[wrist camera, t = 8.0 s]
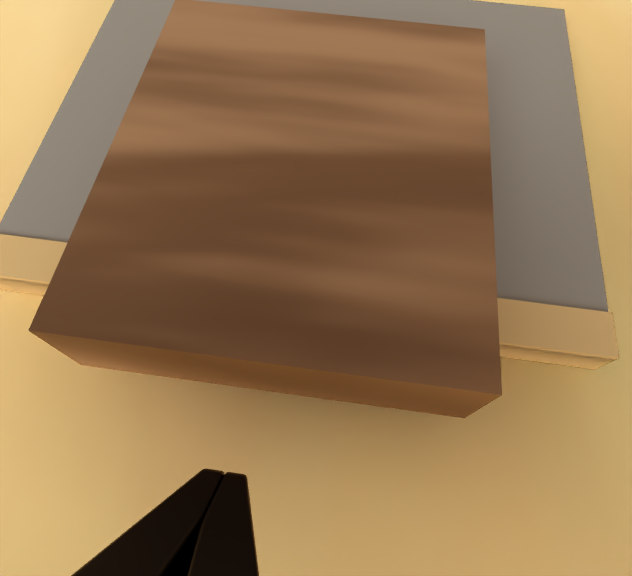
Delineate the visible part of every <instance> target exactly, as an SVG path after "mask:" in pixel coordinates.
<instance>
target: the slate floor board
mask: <svg viewBox="0 0 632 576" xmlns="http://www.w3.org/2000/svg"><path fill="white" fill-rule="evenodd" d="M196 1H206V2H216V3H226V4H236V5H246V6H256V7H266V8H276V9H286V10H296V11H307V12H317V13H327V14H337V15H347V16H357V17H367V18H377V19H387V20H397V21H407V22H417V23H427V24H437V25H447V26H457V27H467V28H478V29H485V43H486V65H487V87H488V108H489V130H490V151H491V173H492V194H493V216H494V238H495V259H496V281H497V302H498V324H499V346H500V357H506V358H514V359H521V360H528V361H536V362H543V363H551V364H558V365H566V366H573V367H581V368H588V369H597V368H599V367H601V366H603V365H605V364H607V363H610V362H612V361H614V360H616V359H618V358H619V354H618V347H617V340H616V334H615V327H614V320H613V314H612V312H608V306H607V299H606V292H605V285H604V278H603V272H602V265H601V258H600V251H599V244H598V237H597V231H596V224H595V217H594V210H593V203H592V197H591V190H590V183H589V176H588V169H587V162H586V156H585V149H584V142H583V135H582V128H581V121H580V115H579V108H578V101H577V94H576V87H575V81H574V74H573V67H572V60H571V53H570V46H569V40H568V33H567V26H566V19H565V12H564V9H555V8H545V7H535V6H525V5H514V4H504V3H494V2H484V1H474V0H196ZM174 2H175V0H115V1H114V3H113V5H112V7H111V9H110V10H109V12H108V14H107V16H106V18H105V20H104V22H103V24H102V26H101V28H100V30H99V32H98V34H97V36H96V38H95V40H94V42H93V44H92V46H91V48H90V49H89V51H88V53H87V55H86V57H85V59H84V61H83V63H82V65H81V67H80V69H79V71H78V73H77V75H76V77H75V79H74V81H73V83H72V85H71V86H70V88H69V90H68V92H67V94H66V96H65V98H64V100H63V102H62V104H61V106H60V108H59V110H58V112H57V114H56V116H55V118H54V120H53V122H52V123H51V125H50V127H49V129H48V131H47V133H46V135H45V137H44V139H43V141H42V143H41V145H40V147H39V149H38V151H37V153H36V155H35V157H34V159H33V161H32V162H31V164H30V166H29V168H28V170H27V172H26V174H25V176H24V178H23V180H22V182H21V184H20V186H19V188H18V190H17V192H16V194H15V196H14V198H13V199H12V201H11V203H10V205H9V207H8V209H7V211H6V213H5V215H4V217H3V219H2V221H1V223H0V290H8V291H15V292H22V293H30V294H37V295H45V292H46V290H47V288H48V286H49V283H50V281H51V279H52V277H53V274H54V272H55V270H56V268H57V265H58V263H59V261H60V258H61V256H62V254H63V252H64V249H65V247H66V245H67V243H68V240H69V238H70V236H71V234H72V231H73V229H74V227H75V225H76V222H77V220H78V218H79V216H80V213H81V211H82V209H83V207H84V204H85V202H86V200H87V198H88V195H89V193H90V191H91V189H92V186H93V184H94V182H95V180H96V177H97V175H98V173H99V171H100V168H101V166H102V164H103V162H104V159H105V157H106V155H107V153H108V150H109V148H110V146H111V144H112V141H113V139H114V137H115V135H116V132H117V130H118V128H119V126H120V123H121V121H122V119H123V117H124V114H125V112H126V110H127V107H128V105H129V103H130V101H131V98H132V96H133V94H134V92H135V89H136V87H137V85H138V83H139V80H140V78H141V76H142V74H143V71H144V69H145V67H146V65H147V62H148V60H149V58H150V56H151V53H152V51H153V49H154V47H155V44H156V42H157V40H158V38H159V35H160V33H161V31H162V29H163V26H164V24H165V22H166V20H167V17H168V15H169V13H170V11H171V8H172V6H173V4H174Z"/></svg>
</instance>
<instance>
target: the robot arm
mask: <svg viewBox="0 0 632 576" xmlns="http://www.w3.org/2000/svg"><path fill="white" fill-rule="evenodd" d="M71 576H259V571H258V563H257V554H256V546H255V538H254V530H253V522H252V514H251V506H250V498H249V489H248V481H247V477H246V475H244V474H239V473H232V472H227V473H226V474H224V472H223V471H219V470H212V469H203V470H201V471H200V472H199V473H198V474H196V475H195V476H194V477H193V478H191V479H190V480H189V481H188V482H186V483H185V484H184V485H183V486H181V487H180V488H179V489H178V490H176V491H175V492H174V493H173V494H172V495H170V496H169V497H168V498H167V499H165V500H164V501H163V502H162V503H160V504H159V505H158V506H157V507H155V508H154V509H153V510H152V511H151V512H149V513H148V514H147V515H146V516H144V517H143V518H142V519H141V520H139V521H138V522H137V523H136V524H134V525H133V526H132V527H131V528H130V529H128V530H127V531H126V532H125V533H123V534H122V535H121V536H120V537H118V538H117V539H116V540H115V541H113V542H112V543H111V544H110V545H109V546H107V547H106V548H105V549H104V550H102V551H101V552H100V553H99V554H97V555H96V556H95V557H94V558H92V559H91V560H90V561H89V562H88V563H86V564H85V565H84V566H83V567H81V568H80V569H79V570H78V571H76V572H75V573H74V574H73V575H71Z"/></svg>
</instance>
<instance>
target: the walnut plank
mask: <svg viewBox="0 0 632 576" xmlns="http://www.w3.org/2000/svg"><path fill="white" fill-rule="evenodd" d="M29 331H30V332H31V333H33V334H35V335H36V336H38V337H39V338H41V339H42V340H44V341H45V342H47V343H48V344H50V345H51V346H53V347H54V348H56V349H57V350H59V351H60V352H62V353H64V354H65V355H67V356H68V357H70V358H71V359H73V360H74V361H76V362H77V363H79V364H80V365H86V366H93V367H100V368H107V369H114V370H122V371H129V372H136V373H143V374H150V375H158V376H165V377H172V378H179V379H186V380H194V381H201V382H208V383H215V384H222V385H230V386H237V387H244V388H251V389H258V390H266V391H273V392H280V393H287V394H294V395H302V396H309V397H316V398H323V399H330V400H338V401H345V402H352V403H359V404H367V405H374V406H381V407H388V408H395V409H403V410H410V411H417V412H424V413H431V414H439V415H446V416H453V417H460V418H465V417H467V416H468V415H470V414H472V413H473V412H475V411H476V410H478V409H480V408H481V407H483V406H485V405H486V404H488V403H489V402H491V401H493V400H494V399H496V398H498V397H499V396H501V395H502V389H501V367H500V346H499V324H498V302H497V281H496V259H495V238H494V216H493V194H492V173H491V151H490V130H489V108H488V87H487V65H486V43H485V29H478V28H467V27H457V26H447V25H437V24H427V23H417V22H407V21H397V20H387V19H377V18H367V17H357V16H347V15H337V14H327V13H317V12H307V11H296V10H286V9H276V8H266V7H256V6H246V5H236V4H226V3H216V2H206V1H196V0H175V2H174V4H173V6H172V8H171V11H170V13H169V15H168V17H167V20H166V22H165V24H164V26H163V29H162V31H161V33H160V35H159V38H158V40H157V42H156V44H155V47H154V49H153V51H152V53H151V56H150V58H149V60H148V62H147V65H146V67H145V69H144V71H143V74H142V76H141V78H140V80H139V83H138V85H137V87H136V89H135V92H134V94H133V96H132V98H131V101H130V103H129V105H128V107H127V110H126V112H125V114H124V117H123V119H122V121H121V123H120V126H119V128H118V130H117V132H116V135H115V137H114V139H113V141H112V144H111V146H110V148H109V150H108V153H107V155H106V157H105V159H104V162H103V164H102V166H101V168H100V171H99V173H98V175H97V177H96V180H95V182H94V184H93V186H92V189H91V191H90V193H89V195H88V198H87V200H86V202H85V204H84V207H83V209H82V211H81V213H80V216H79V218H78V220H77V222H76V225H75V227H74V229H73V231H72V234H71V236H70V238H69V240H68V243H67V245H66V247H65V249H64V252H63V254H62V256H61V258H60V261H59V263H58V265H57V268H56V270H55V272H54V274H53V277H52V279H51V281H50V283H49V286H48V288H47V290H46V292H45V295H44V297H43V299H42V301H41V304H40V306H39V308H38V310H37V313H36V315H35V317H34V319H33V322H32V324H31V326H30V328H29Z"/></svg>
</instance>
